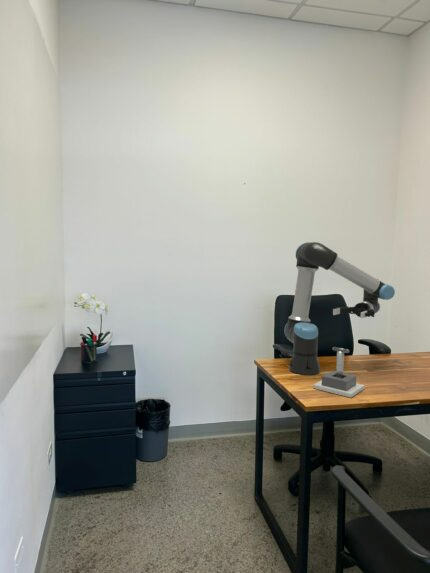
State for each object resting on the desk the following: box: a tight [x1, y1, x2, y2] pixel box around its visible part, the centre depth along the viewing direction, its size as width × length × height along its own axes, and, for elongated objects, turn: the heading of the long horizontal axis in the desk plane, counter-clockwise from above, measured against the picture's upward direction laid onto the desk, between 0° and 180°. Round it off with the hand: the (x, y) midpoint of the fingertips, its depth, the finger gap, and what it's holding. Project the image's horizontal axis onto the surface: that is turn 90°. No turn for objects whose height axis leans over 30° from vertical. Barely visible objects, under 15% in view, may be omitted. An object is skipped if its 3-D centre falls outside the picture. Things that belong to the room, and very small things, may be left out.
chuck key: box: [331, 346, 350, 379], centre depth 175 cm, size 8×3×16 cm, turn 50°
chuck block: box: [312, 370, 366, 398], centre depth 176 cm, size 17×15×6 cm
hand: (347, 313), depth 193 cm, fingers open, 13 cm apart
